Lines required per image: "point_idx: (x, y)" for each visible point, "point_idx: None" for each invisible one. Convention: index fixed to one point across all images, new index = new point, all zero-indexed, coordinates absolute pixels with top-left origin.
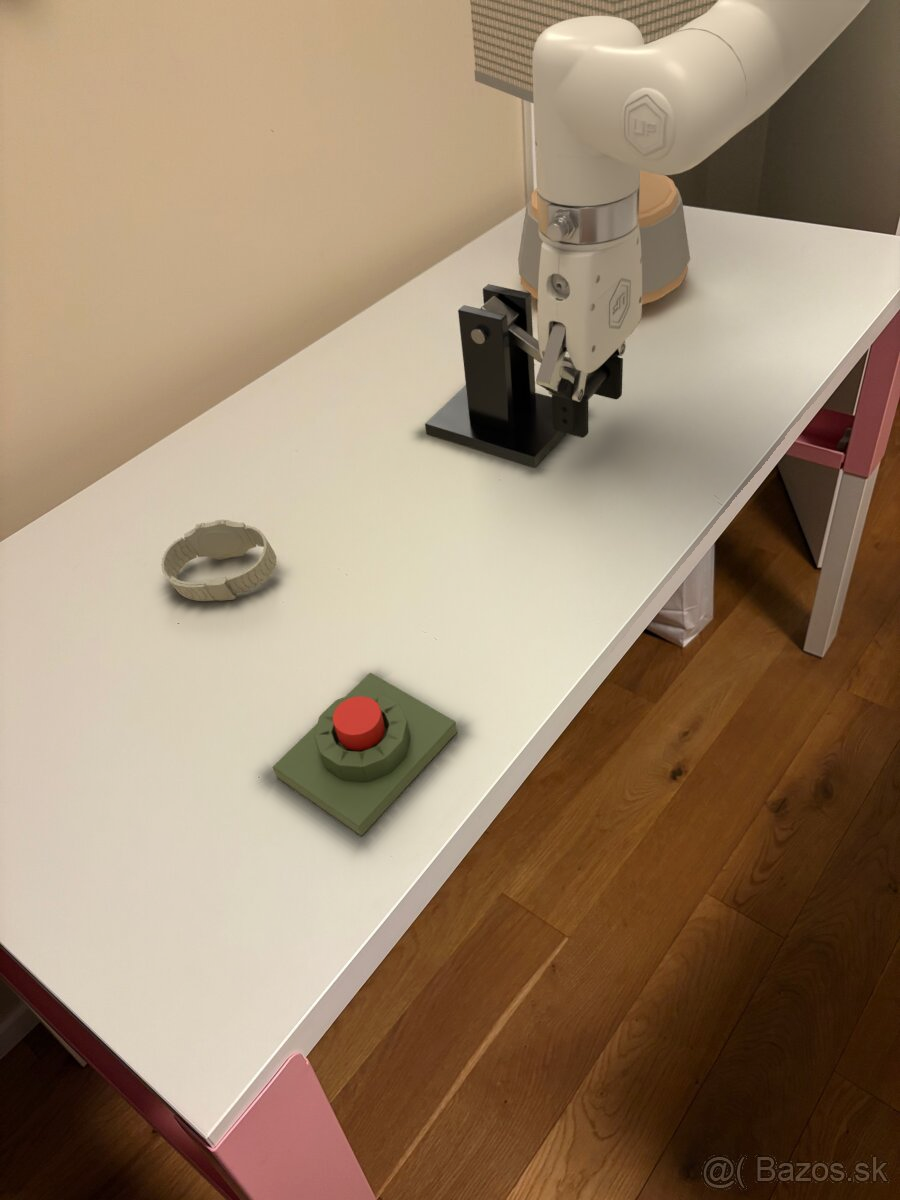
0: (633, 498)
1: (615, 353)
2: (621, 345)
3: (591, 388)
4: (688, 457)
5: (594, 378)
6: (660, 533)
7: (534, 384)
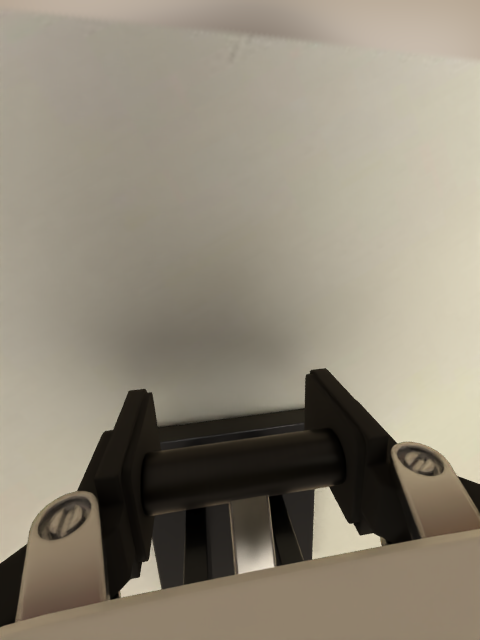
0: (312, 220)
1: (101, 517)
2: (68, 539)
3: (268, 456)
4: (139, 180)
5: (227, 479)
6: (384, 119)
7: (188, 549)
